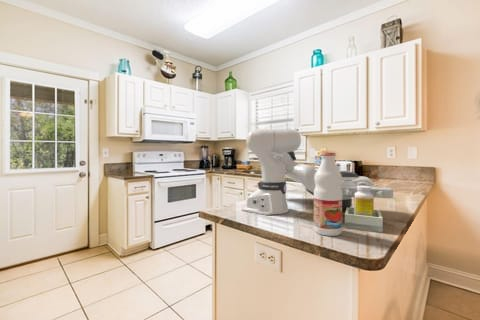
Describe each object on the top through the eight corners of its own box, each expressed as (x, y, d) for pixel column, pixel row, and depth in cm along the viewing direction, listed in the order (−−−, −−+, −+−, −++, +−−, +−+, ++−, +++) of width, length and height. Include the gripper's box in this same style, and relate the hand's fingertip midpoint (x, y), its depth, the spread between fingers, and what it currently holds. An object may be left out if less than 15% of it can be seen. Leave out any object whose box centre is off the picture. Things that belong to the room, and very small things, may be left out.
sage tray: (344, 227, 87) (344, 214, 87) (346, 219, 98) (346, 207, 97) (382, 232, 81) (382, 218, 81) (379, 222, 92) (380, 210, 92)
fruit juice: (324, 225, 89) (324, 152, 88) (347, 232, 82) (348, 152, 80) (308, 230, 84) (308, 152, 83) (331, 238, 76) (332, 152, 75)
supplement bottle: (375, 223, 85) (376, 188, 85) (356, 221, 87) (357, 187, 86) (369, 218, 92) (370, 185, 92) (351, 216, 93) (352, 184, 93)
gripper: (391, 198, 96) (396, 205, 84) (337, 194, 105) (334, 200, 93) (391, 182, 96) (396, 187, 83) (337, 180, 105) (334, 184, 93)
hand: (363, 194), depth 88 cm, fingers open, 8 cm apart
